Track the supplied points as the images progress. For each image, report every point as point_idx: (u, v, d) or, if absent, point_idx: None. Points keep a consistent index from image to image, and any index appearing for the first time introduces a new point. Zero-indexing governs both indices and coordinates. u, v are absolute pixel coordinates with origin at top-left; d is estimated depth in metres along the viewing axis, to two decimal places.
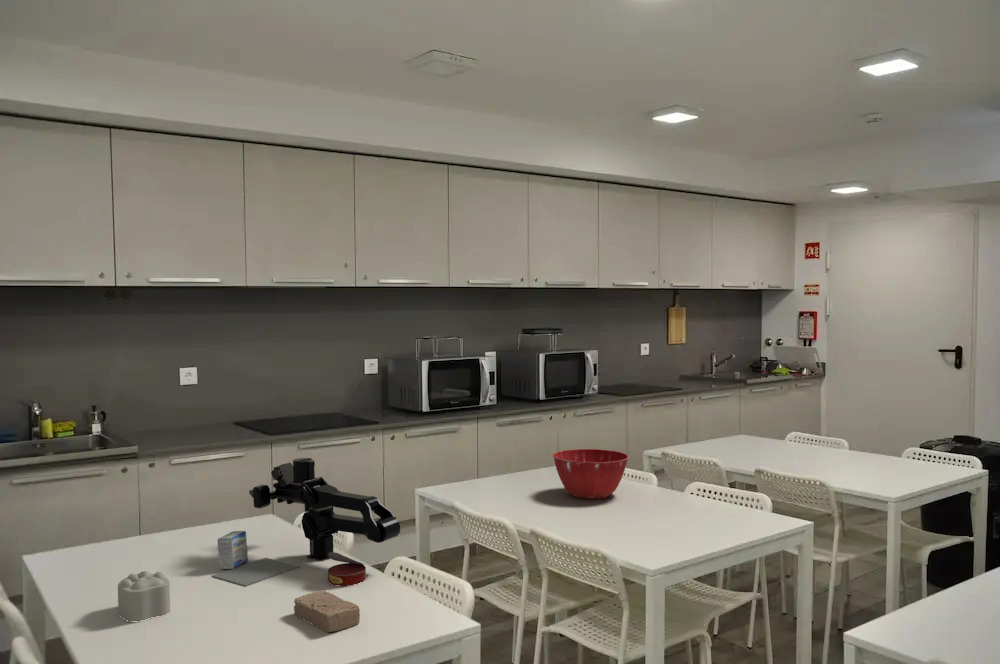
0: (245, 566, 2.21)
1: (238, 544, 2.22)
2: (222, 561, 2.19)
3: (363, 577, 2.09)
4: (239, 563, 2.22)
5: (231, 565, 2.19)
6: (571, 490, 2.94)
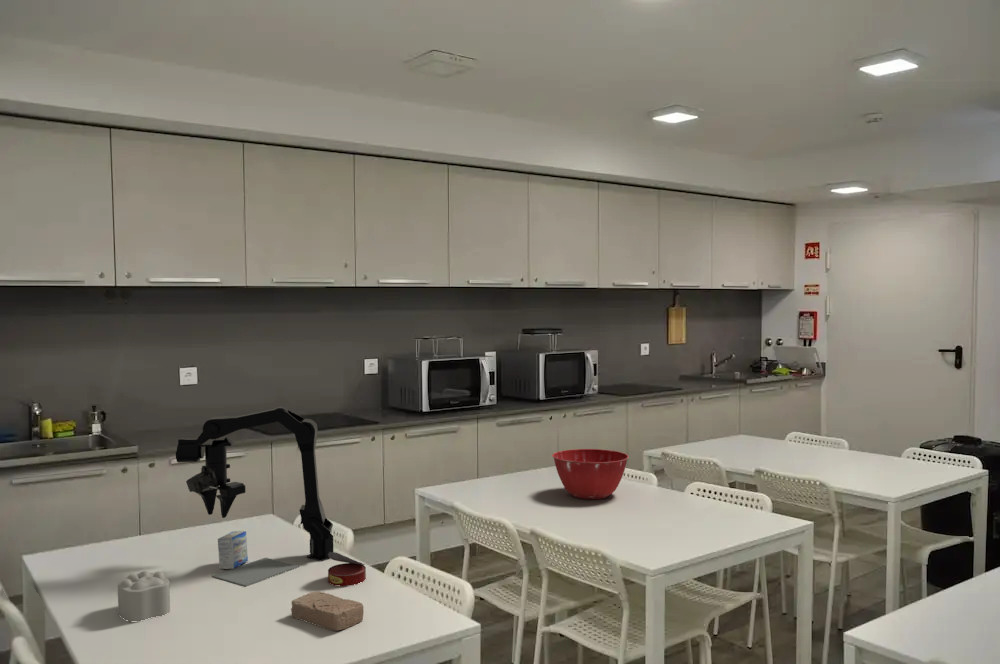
0: (245, 566, 2.21)
1: (238, 544, 2.22)
2: (222, 561, 2.19)
3: (363, 577, 2.09)
4: (239, 563, 2.22)
5: (231, 565, 2.19)
6: (571, 490, 2.94)
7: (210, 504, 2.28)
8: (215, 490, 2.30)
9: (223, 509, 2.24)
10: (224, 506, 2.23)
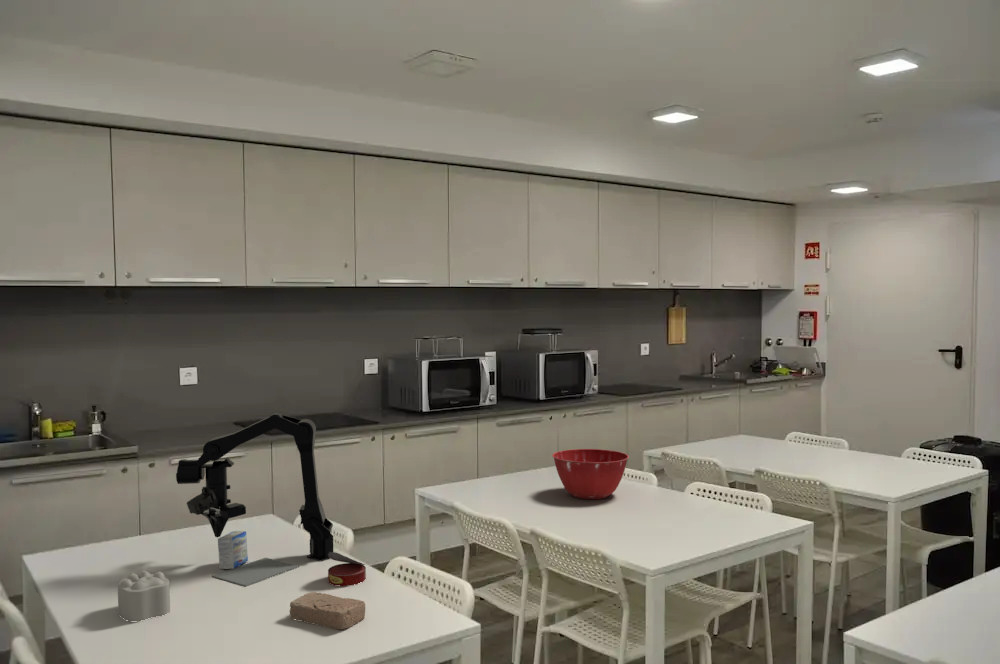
0: (245, 566, 2.21)
1: (238, 544, 2.22)
2: (222, 561, 2.19)
3: (363, 577, 2.09)
4: (239, 563, 2.22)
5: (231, 565, 2.19)
6: (571, 490, 2.94)
7: None
8: None
9: (217, 529, 2.25)
10: (218, 526, 2.25)
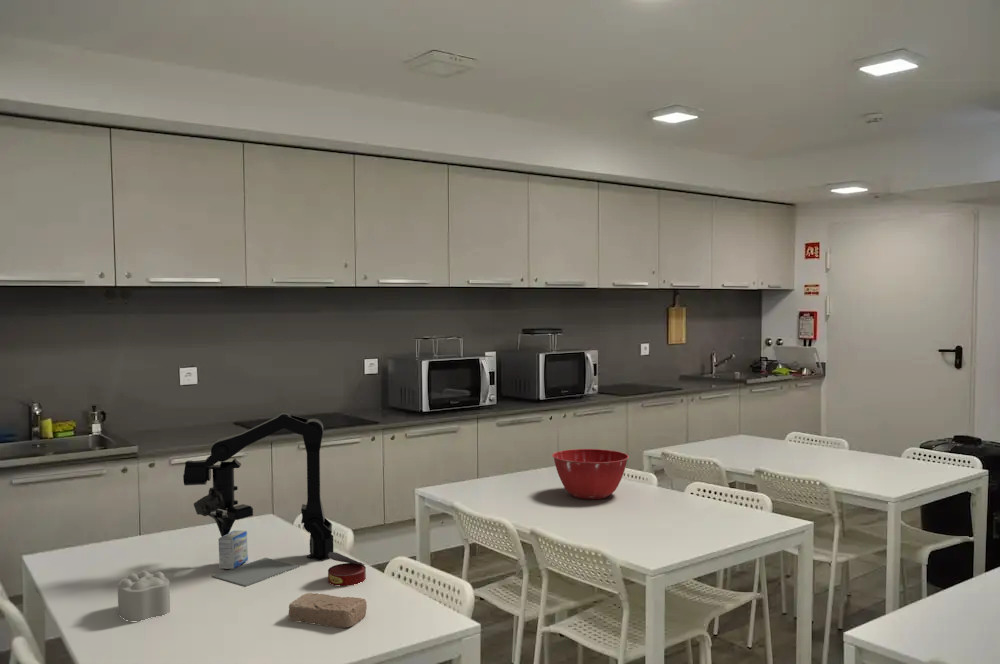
0: (245, 566, 2.21)
1: (239, 544, 2.22)
2: (223, 561, 2.19)
3: (363, 577, 2.09)
4: (239, 563, 2.22)
5: (231, 565, 2.19)
6: (571, 490, 2.94)
7: None
8: None
9: (224, 530, 2.24)
10: (225, 527, 2.24)
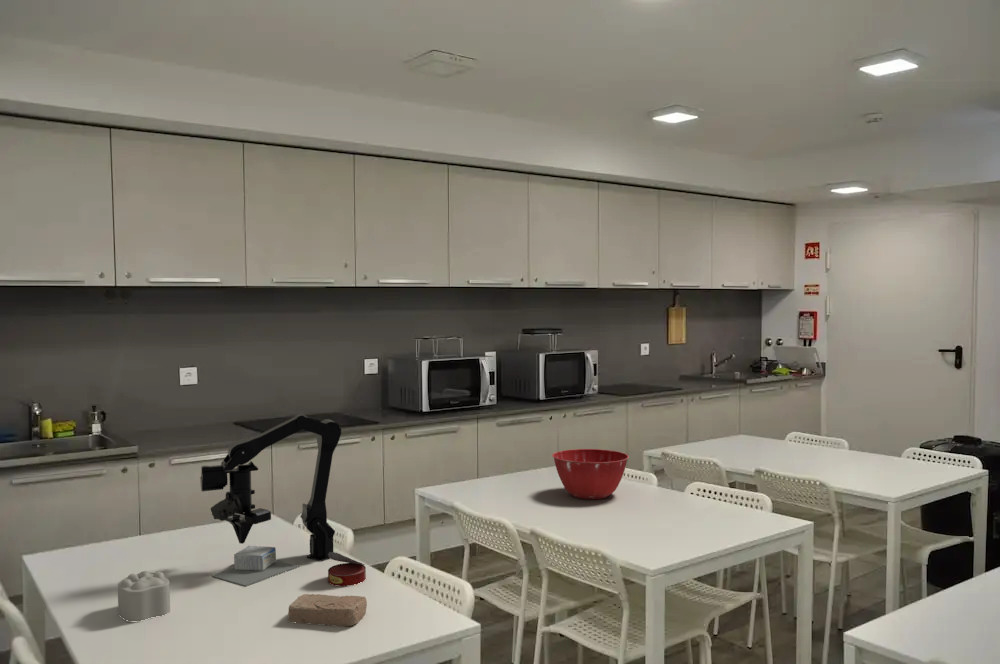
0: None
1: None
2: (240, 558, 2.18)
3: (363, 577, 2.09)
4: None
5: (237, 568, 2.19)
6: (571, 490, 2.94)
7: None
8: None
9: (241, 535, 2.19)
10: (242, 532, 2.19)
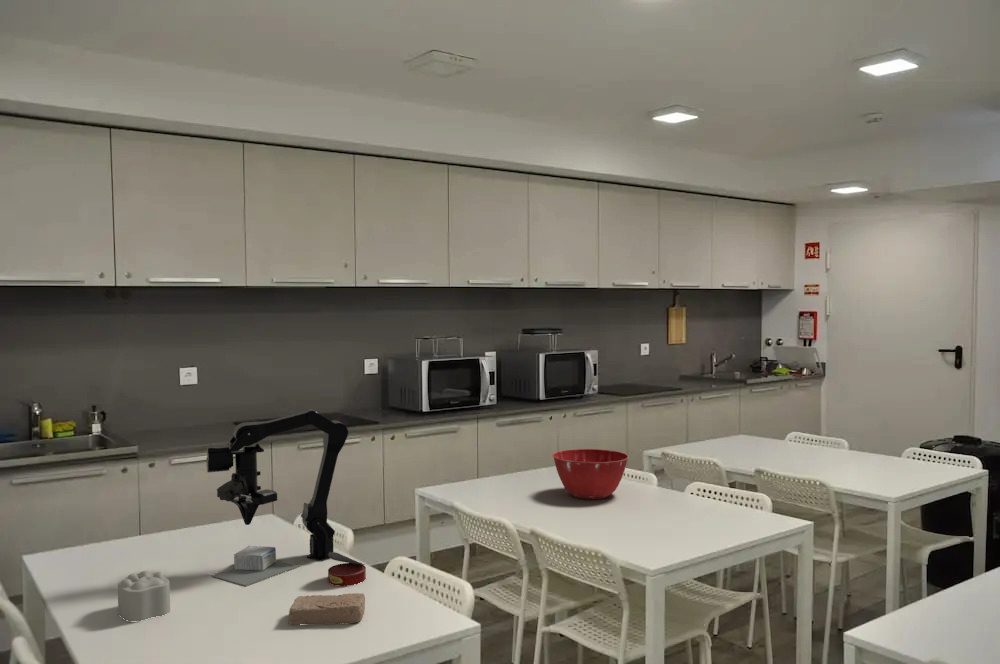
0: None
1: None
2: (240, 558, 2.18)
3: (363, 577, 2.09)
4: None
5: (237, 568, 2.19)
6: (571, 490, 2.94)
7: None
8: None
9: (247, 516, 2.20)
10: (248, 513, 2.20)
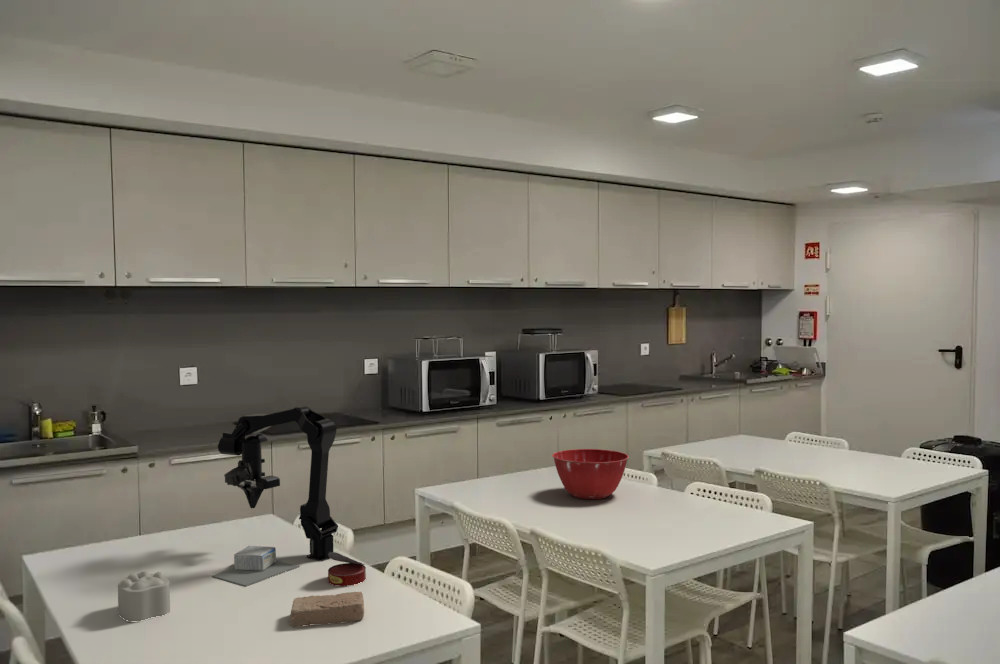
0: None
1: None
2: (240, 558, 2.18)
3: (363, 577, 2.09)
4: None
5: (237, 568, 2.19)
6: (571, 490, 2.94)
7: None
8: None
9: (252, 500, 2.38)
10: (253, 497, 2.38)
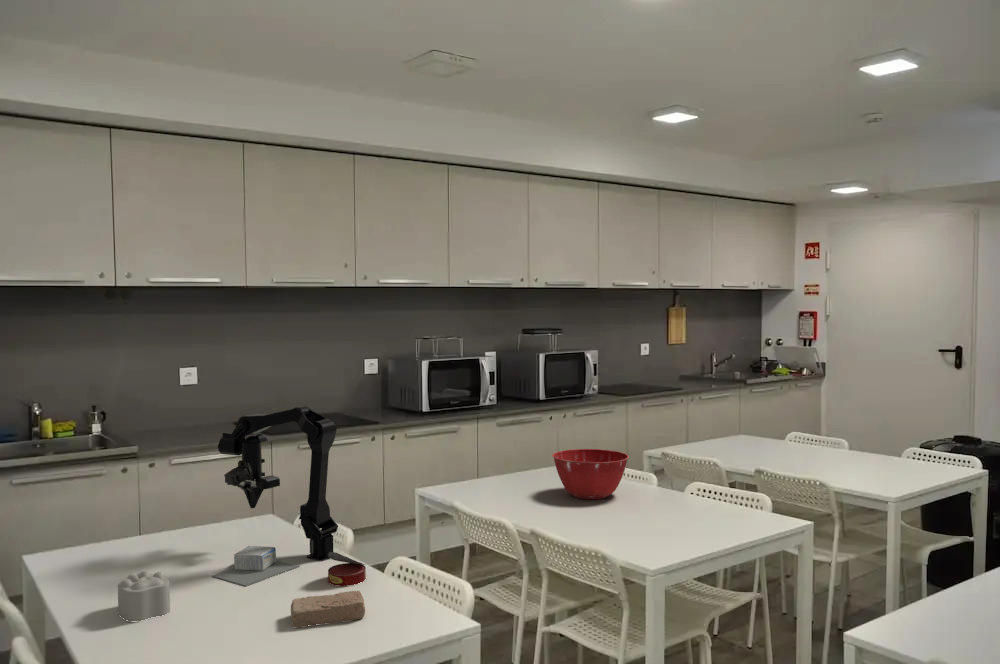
0: None
1: None
2: (240, 558, 2.18)
3: (363, 577, 2.09)
4: None
5: (237, 568, 2.19)
6: (571, 490, 2.94)
7: None
8: None
9: (252, 500, 2.38)
10: (253, 497, 2.38)
